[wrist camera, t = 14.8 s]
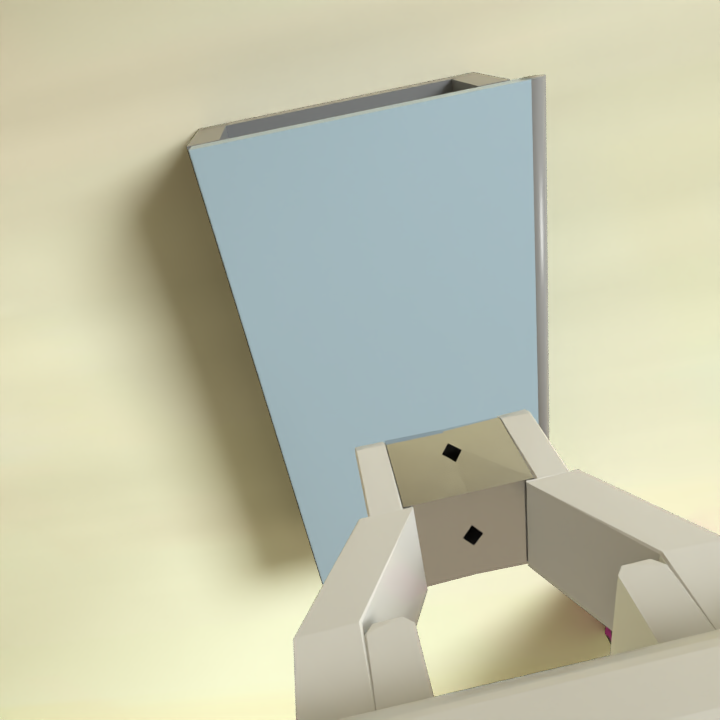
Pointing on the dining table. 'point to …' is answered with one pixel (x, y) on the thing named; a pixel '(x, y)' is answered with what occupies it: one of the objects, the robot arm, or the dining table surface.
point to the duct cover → (387, 277)
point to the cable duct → (327, 112)
